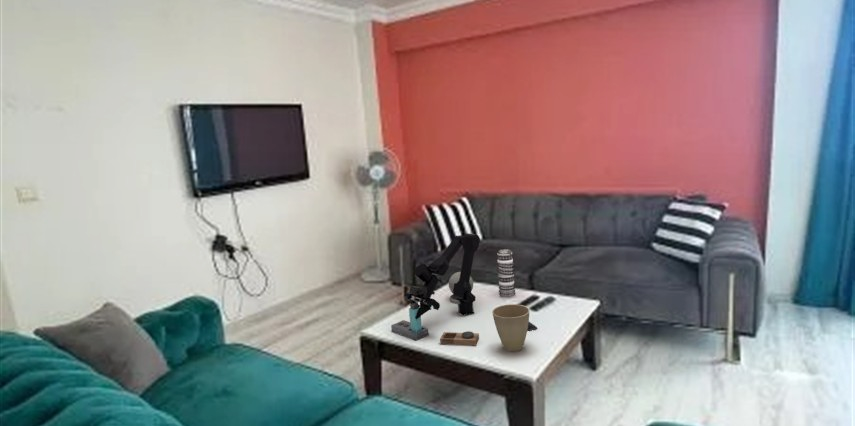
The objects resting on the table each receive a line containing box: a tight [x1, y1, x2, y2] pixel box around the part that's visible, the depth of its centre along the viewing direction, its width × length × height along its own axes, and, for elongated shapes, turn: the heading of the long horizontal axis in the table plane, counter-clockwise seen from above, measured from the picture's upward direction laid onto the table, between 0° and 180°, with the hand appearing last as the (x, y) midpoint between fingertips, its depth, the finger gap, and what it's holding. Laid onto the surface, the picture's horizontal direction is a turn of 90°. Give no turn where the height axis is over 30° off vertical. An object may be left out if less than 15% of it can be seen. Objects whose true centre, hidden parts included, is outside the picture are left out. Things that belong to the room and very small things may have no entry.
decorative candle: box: [496, 248, 516, 300], centre depth 265 cm, size 9×9×25 cm
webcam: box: [448, 271, 474, 305], centre depth 268 cm, size 13×13×15 cm
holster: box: [439, 331, 480, 347], centre depth 217 cm, size 7×16×4 cm, turn 73°
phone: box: [527, 321, 538, 332], centre depth 229 cm, size 8×1×15 cm
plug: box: [408, 303, 422, 333], centre depth 227 cm, size 4×4×13 cm
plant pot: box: [491, 304, 530, 352], centre depth 206 cm, size 15×15×16 cm
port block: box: [390, 319, 430, 341], centre depth 231 cm, size 8×17×3 cm, turn 43°
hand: (413, 317), depth 226 cm, fingers closed on plug, 3 cm apart
